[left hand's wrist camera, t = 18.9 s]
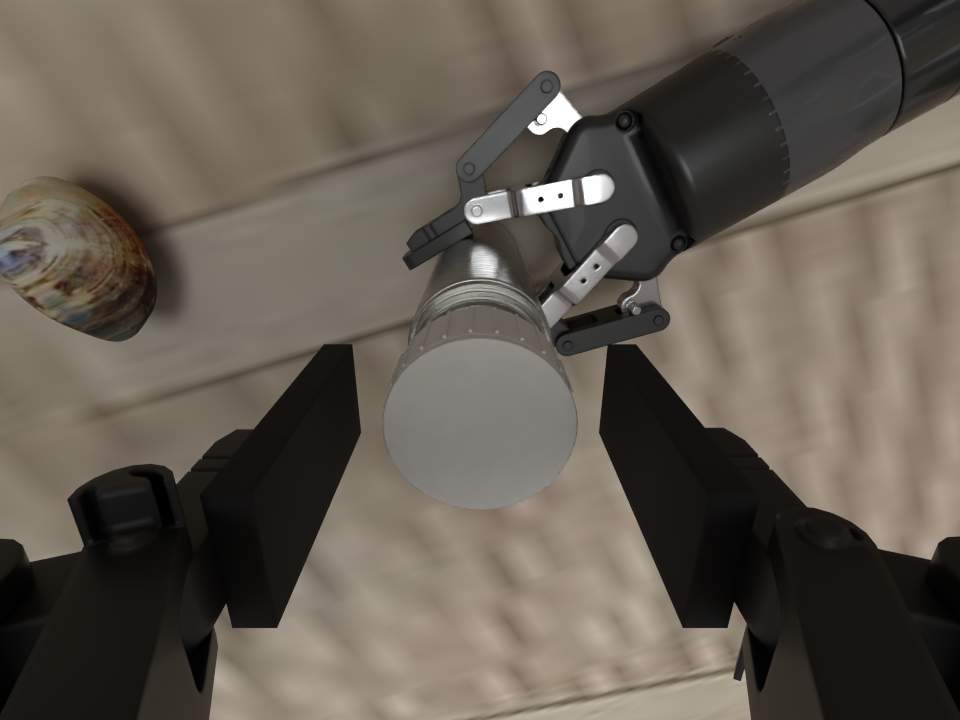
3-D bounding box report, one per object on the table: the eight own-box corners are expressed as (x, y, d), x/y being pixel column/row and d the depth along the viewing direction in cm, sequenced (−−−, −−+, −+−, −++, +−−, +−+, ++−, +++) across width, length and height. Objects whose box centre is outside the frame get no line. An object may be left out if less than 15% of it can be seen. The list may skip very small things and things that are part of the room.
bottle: (426, 257, 32) (341, 416, 13) (480, 201, 31) (480, 280, 11) (480, 309, 34) (479, 528, 14) (533, 257, 32) (617, 417, 13)
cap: (571, 308, 14) (590, 340, 11) (555, 458, 15) (569, 514, 13) (394, 301, 13) (376, 333, 11) (398, 453, 15) (384, 508, 13)
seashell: (37, 196, 31) (-103, 209, 23) (114, 156, 30) (-6, 157, 23) (135, 332, 34) (39, 381, 27) (206, 300, 33) (128, 342, 26)
